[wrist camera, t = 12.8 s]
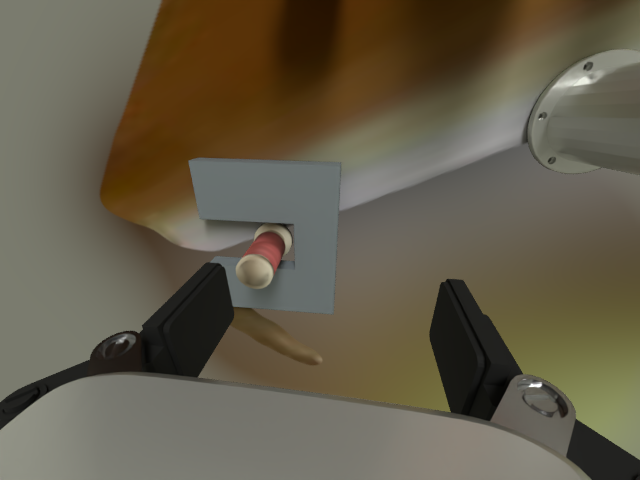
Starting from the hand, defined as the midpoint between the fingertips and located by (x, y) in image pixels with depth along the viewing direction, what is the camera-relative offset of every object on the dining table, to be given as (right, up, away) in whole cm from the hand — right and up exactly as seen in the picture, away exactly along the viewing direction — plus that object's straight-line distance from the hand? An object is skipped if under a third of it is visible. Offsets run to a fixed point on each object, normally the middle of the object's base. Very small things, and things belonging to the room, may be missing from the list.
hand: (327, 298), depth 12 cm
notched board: (-8, +3, +30) cm, 31 cm away
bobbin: (-7, +3, +30) cm, 31 cm away
